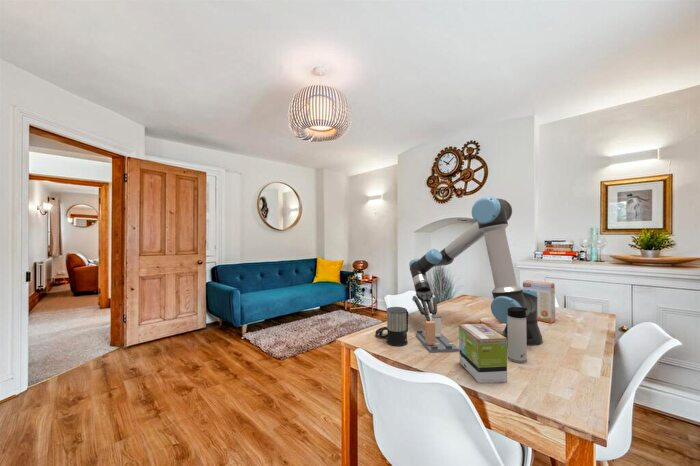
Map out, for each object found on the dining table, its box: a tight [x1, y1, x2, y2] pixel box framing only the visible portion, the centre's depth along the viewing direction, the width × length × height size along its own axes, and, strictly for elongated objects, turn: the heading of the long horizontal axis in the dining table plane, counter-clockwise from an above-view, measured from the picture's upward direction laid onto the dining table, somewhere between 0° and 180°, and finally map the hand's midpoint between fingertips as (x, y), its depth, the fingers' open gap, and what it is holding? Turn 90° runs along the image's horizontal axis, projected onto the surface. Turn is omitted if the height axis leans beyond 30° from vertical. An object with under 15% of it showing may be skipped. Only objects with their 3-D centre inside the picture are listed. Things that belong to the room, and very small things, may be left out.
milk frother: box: [374, 306, 410, 347], centre depth 133 cm, size 14×16×15 cm
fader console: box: [415, 320, 459, 354], centre depth 128 cm, size 20×12×11 cm, turn 4°
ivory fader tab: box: [431, 314, 442, 337], centre depth 133 cm, size 3×4×9 cm
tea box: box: [458, 323, 508, 384], centre depth 101 cm, size 15×10×15 cm
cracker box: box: [522, 280, 556, 324], centre depth 161 cm, size 14×6×21 cm, turn 35°
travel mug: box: [507, 307, 528, 364], centre depth 111 cm, size 6×7×20 cm
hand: (433, 327), depth 135 cm, fingers closed
